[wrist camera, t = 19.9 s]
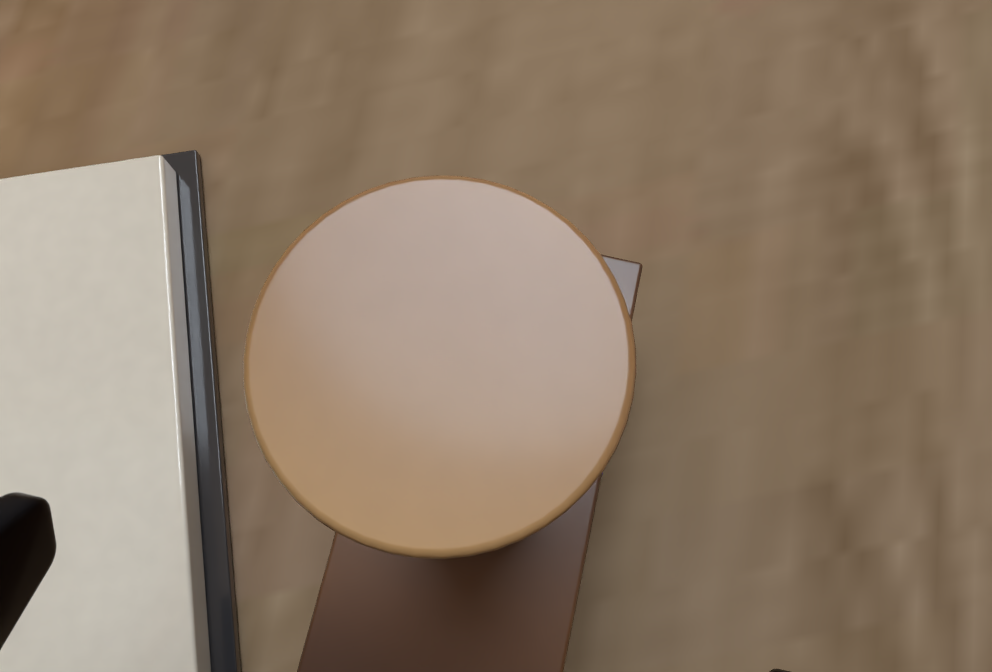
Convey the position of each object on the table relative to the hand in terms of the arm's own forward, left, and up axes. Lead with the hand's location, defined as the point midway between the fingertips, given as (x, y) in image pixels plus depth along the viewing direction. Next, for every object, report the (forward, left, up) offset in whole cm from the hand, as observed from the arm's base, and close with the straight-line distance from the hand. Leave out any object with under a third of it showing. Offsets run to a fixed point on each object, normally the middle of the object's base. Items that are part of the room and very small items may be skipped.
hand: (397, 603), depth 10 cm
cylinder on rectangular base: (+2, +1, -8) cm, 8 cm away
